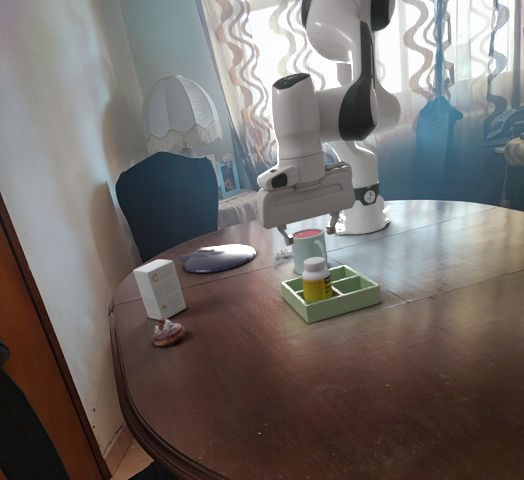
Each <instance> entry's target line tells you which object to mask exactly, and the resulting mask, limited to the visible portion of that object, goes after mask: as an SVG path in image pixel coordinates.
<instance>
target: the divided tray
mask: <svg viewBox="0 0 524 480" xmlns="http://www.w3.org/2000/svg"><path fill="white" fill-rule="evenodd" d="M328 269H329V271H330V277H331V287H332V296H333V297H332V298H329V299H325V300H322V301H318V302H315V303H311V304H307V303H306V302H305V297H304V289H303V282H302V276H298V277H295V278H291V279H287V280H283V281H280V287H281V294H282V298H283V299H284V300H285V301H286V302H287V303H288V304H289V305H290V307H292V309H294V310H295V311H296V313H298V314H299V316H300V317H301V318H302V319H303V320H304V321H305V322H307V324H313V323H315V322H318V321H322V320H326V319H329V318H332V317H333V318H334V317H337V316H339V315H342V314H345V313H350V312H353V311H356V310H360V309H363V308H367V307H371V306H373V305H374V306H375V305H377V304H380V303H382V300H381V299H382V298H381V297H382V295H381V285H380V284H378V283H377V282H375V281H373V280H371V279H370V278H369V277H367V276H365V275H363V274H361V273H360V272H358V271H357V270H356V269H354V268H352V267H350V266H349V265H347V264H343V265H342V264H341V265H339V266H336V267H332V268H328Z"/></svg>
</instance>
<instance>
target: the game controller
mask: <svg viewBox="0 0 524 480" xmlns="http://www.w3.org/2000/svg"><path fill="white" fill-rule="evenodd" d="M284 257H286V258H287V257H293V253H292V250H289V249H287V248H284V251H283V249H280V251H276V252H275V258H279V260H281V259H282V258H284ZM280 262H281V261H279V262H278V263H276V265H275V268H277V265H278V264H280Z"/></svg>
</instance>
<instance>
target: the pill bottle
mask: <svg viewBox="0 0 524 480" xmlns="http://www.w3.org/2000/svg"><path fill="white" fill-rule="evenodd" d="M325 266H326V263H325V259H324V258H322V257H313V258H309V259H306V260H305V261H304V269H305V271H304V272H303V273H302V274H301V277H302V282H303V289H304V297H305V302H306V303H307V304H311V303H315V302H318V301H322V300H325V299H329V298H332V297H333V296H332V287H331V277H330V271H329V269H330V268H326V267H325Z"/></svg>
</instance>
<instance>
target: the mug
mask: <svg viewBox="0 0 524 480" xmlns="http://www.w3.org/2000/svg"><path fill="white" fill-rule="evenodd" d="M290 235H291V236H293V239H294V240H293V241H294V244H293V245H290V246H291V251H292V253H293V256H292V260H293V267H294V272H295V274H298V275H302V273H303V272H304V271H305V269H304V261H305V260H306V259H309V258H313V257H322V258H324V259H325V263H326V266H325V267H326V268H327V269H329V268H328V267H329V264H328V252H327V244H326V236H325V235H326V234H325V229H323V228H320V227H310V228H303V229H300V230H297V231H294V232H292V233H291V234H290Z"/></svg>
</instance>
